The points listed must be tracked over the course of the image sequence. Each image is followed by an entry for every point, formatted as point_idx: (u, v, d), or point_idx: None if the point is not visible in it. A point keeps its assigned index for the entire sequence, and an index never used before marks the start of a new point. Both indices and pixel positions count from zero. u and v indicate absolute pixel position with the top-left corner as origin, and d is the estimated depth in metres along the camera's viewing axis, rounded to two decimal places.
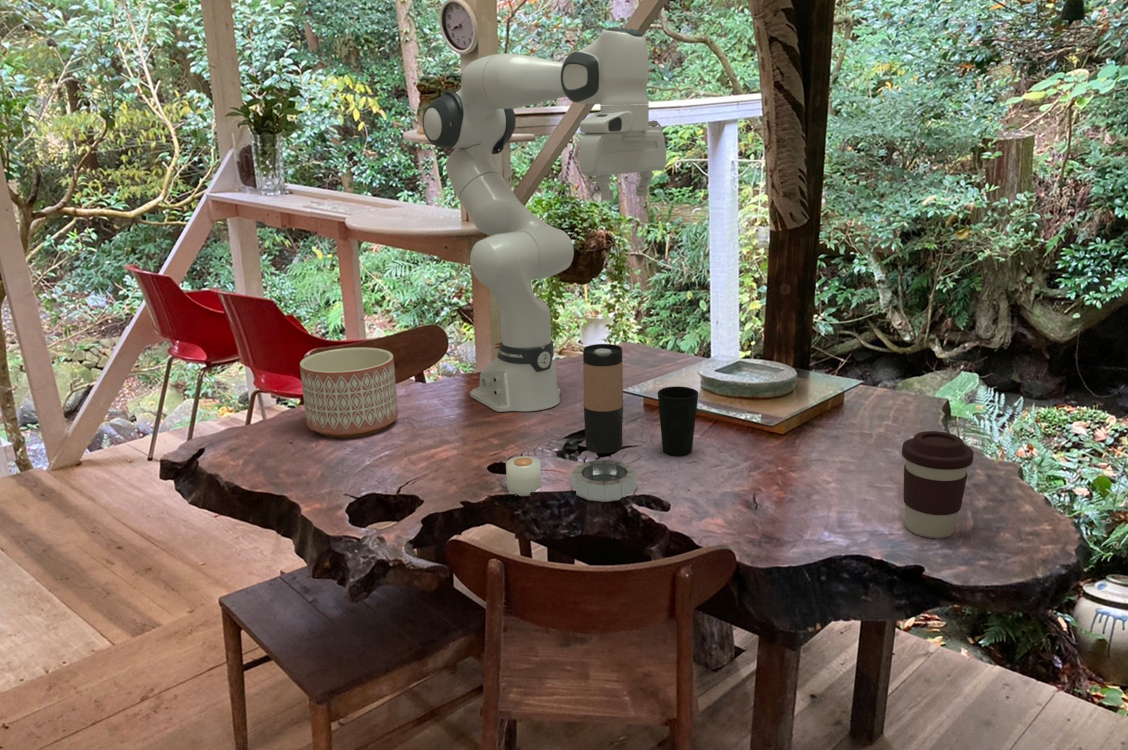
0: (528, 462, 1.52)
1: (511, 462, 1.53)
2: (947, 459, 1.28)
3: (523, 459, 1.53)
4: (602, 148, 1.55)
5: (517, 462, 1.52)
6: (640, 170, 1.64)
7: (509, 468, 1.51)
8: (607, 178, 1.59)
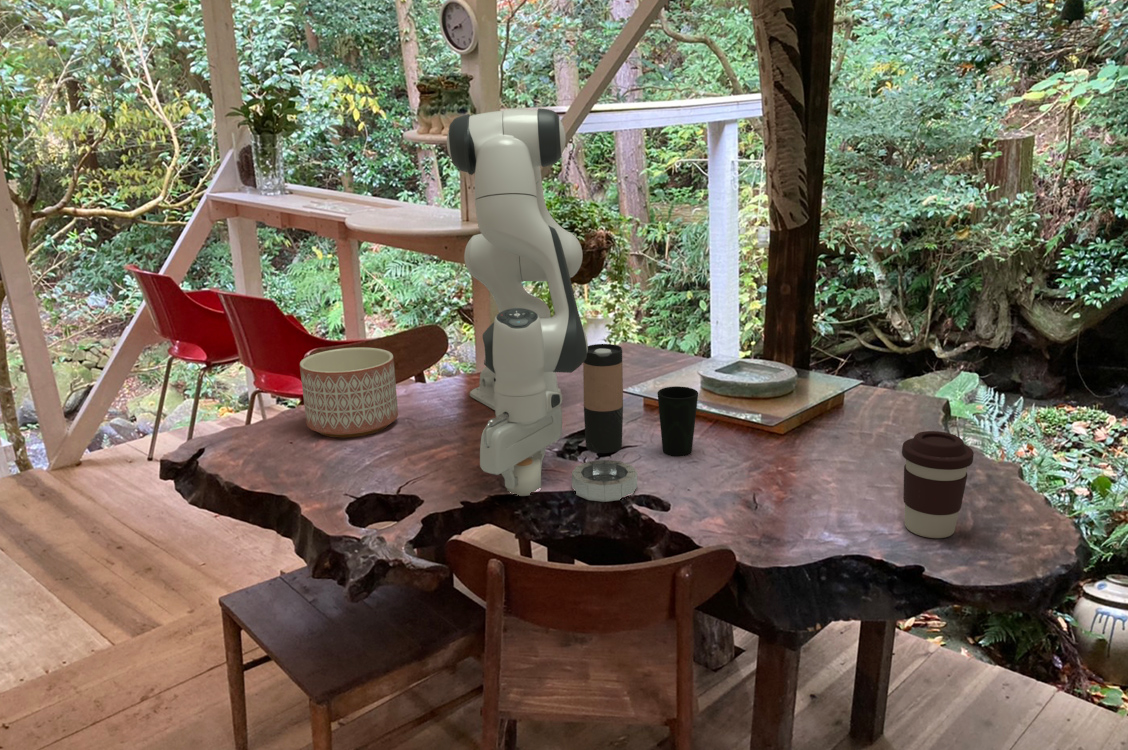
0: (528, 462, 1.52)
1: None
2: (947, 459, 1.28)
3: None
4: None
5: None
6: None
7: None
8: None
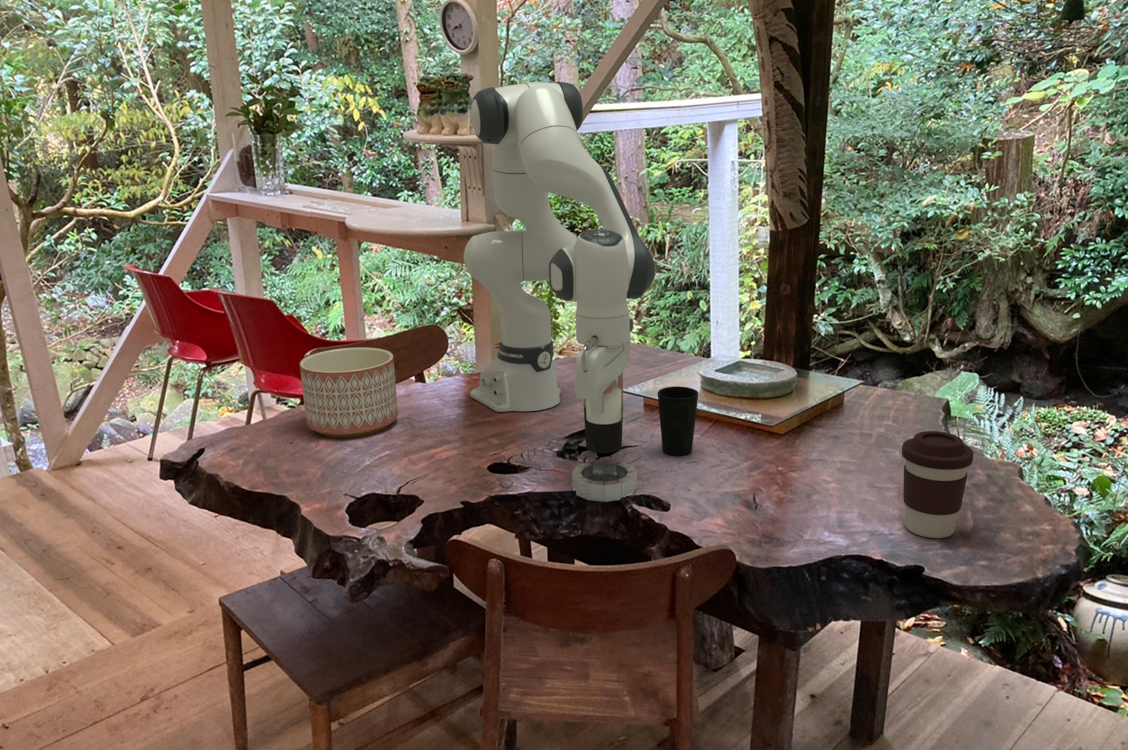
0: (610, 389, 1.48)
1: None
2: (947, 459, 1.28)
3: None
4: None
5: None
6: None
7: None
8: None
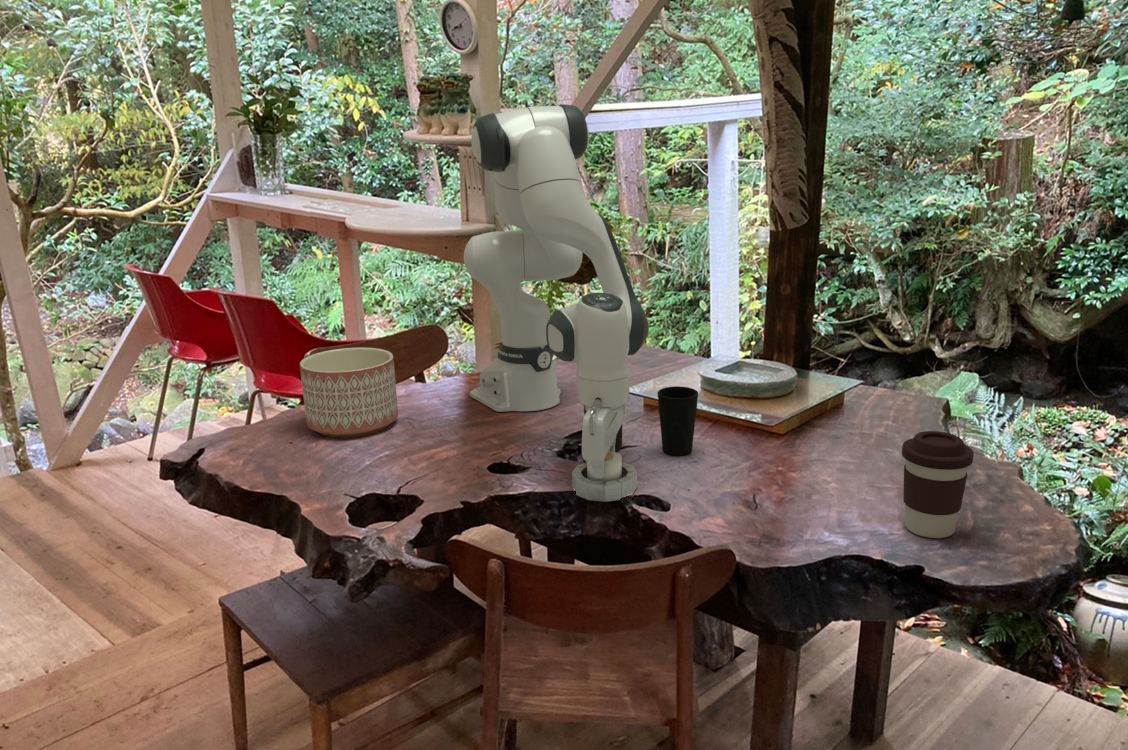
0: (610, 456, 1.51)
1: None
2: (947, 459, 1.28)
3: None
4: None
5: None
6: None
7: None
8: None
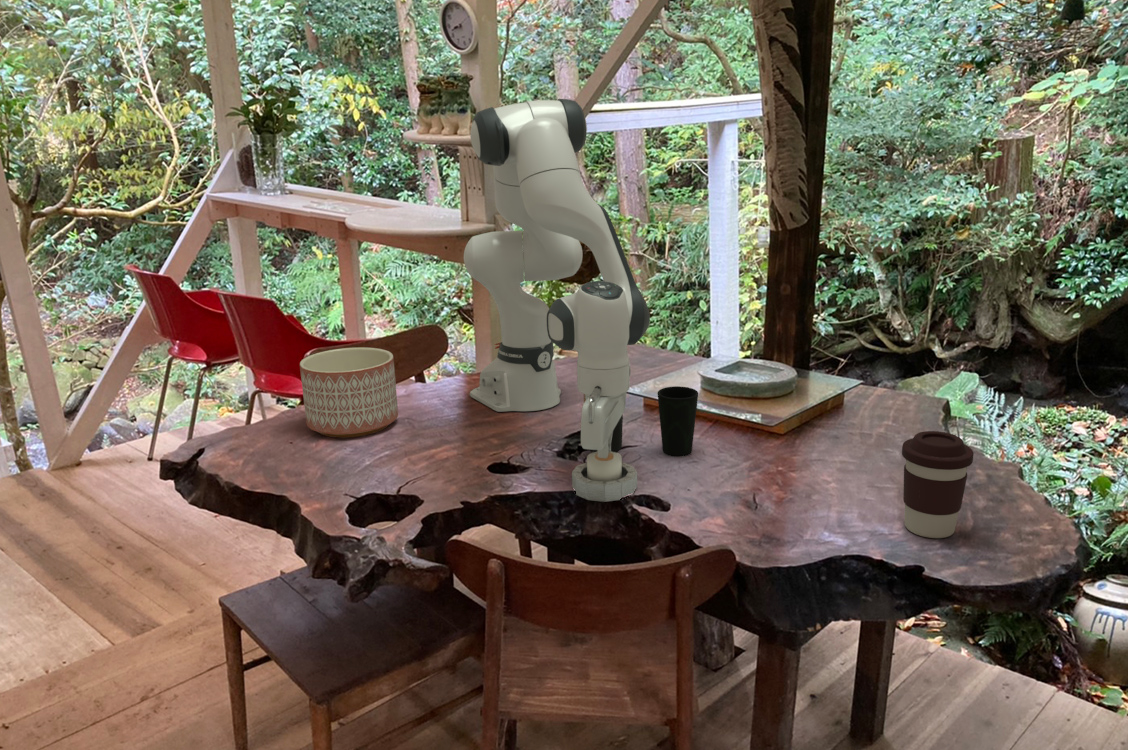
0: (610, 456, 1.51)
1: (592, 458, 1.51)
2: (947, 459, 1.28)
3: None
4: None
5: None
6: None
7: (595, 464, 1.49)
8: None
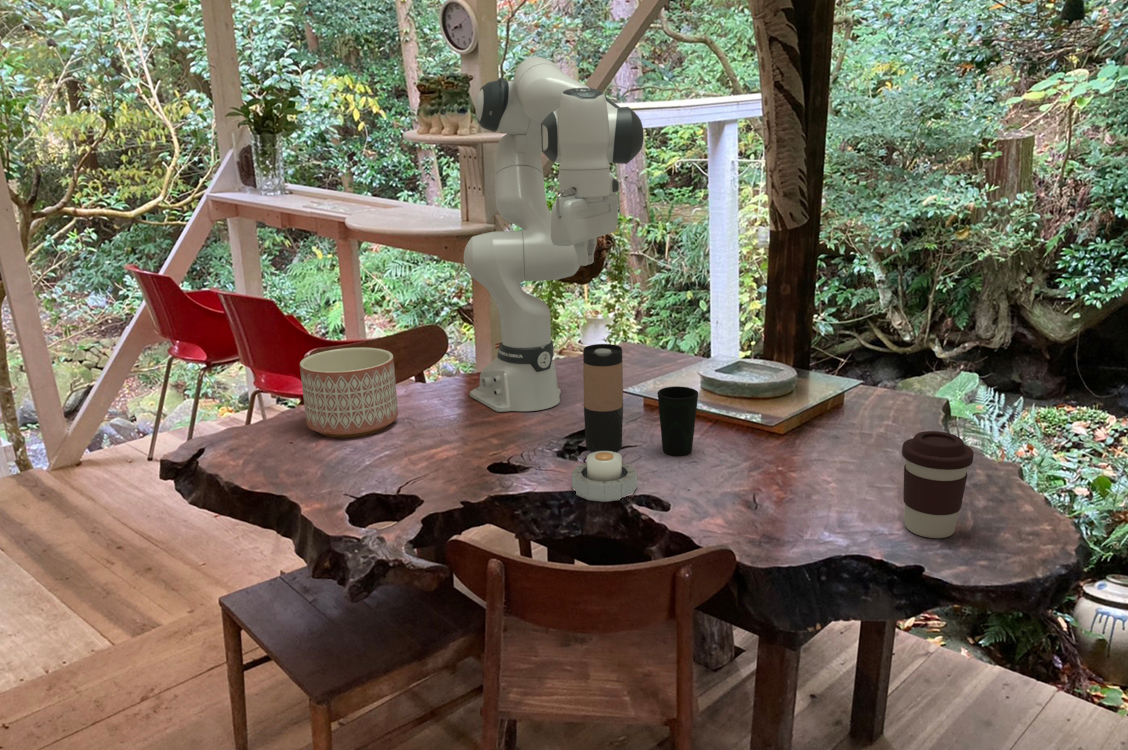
0: (610, 456, 1.51)
1: (592, 458, 1.51)
2: (947, 459, 1.28)
3: (602, 454, 1.52)
4: None
5: (600, 457, 1.51)
6: None
7: (595, 464, 1.49)
8: None
